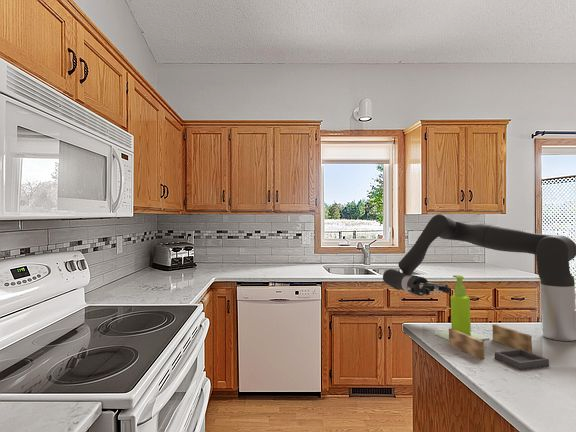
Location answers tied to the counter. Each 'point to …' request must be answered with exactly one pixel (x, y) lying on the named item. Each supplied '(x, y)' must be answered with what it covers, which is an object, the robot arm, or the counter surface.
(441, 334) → the mat
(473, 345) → the oak channel
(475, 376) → the counter surface
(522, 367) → the pit tray
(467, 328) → the soap dispenser
